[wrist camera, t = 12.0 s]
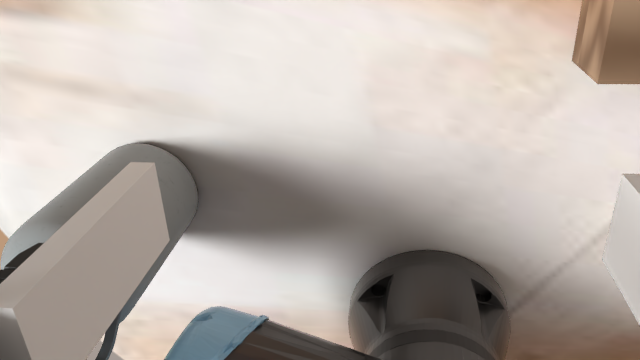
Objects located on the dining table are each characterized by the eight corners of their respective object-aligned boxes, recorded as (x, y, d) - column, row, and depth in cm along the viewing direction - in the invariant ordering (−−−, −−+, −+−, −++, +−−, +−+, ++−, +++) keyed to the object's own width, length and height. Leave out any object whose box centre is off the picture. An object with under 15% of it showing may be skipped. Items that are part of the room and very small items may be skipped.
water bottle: (216, 164, 49) (22, 431, 24) (192, 247, 53) (9, 542, 28) (109, 124, 48) (-201, 352, 23) (94, 210, 53) (-178, 478, 28)
